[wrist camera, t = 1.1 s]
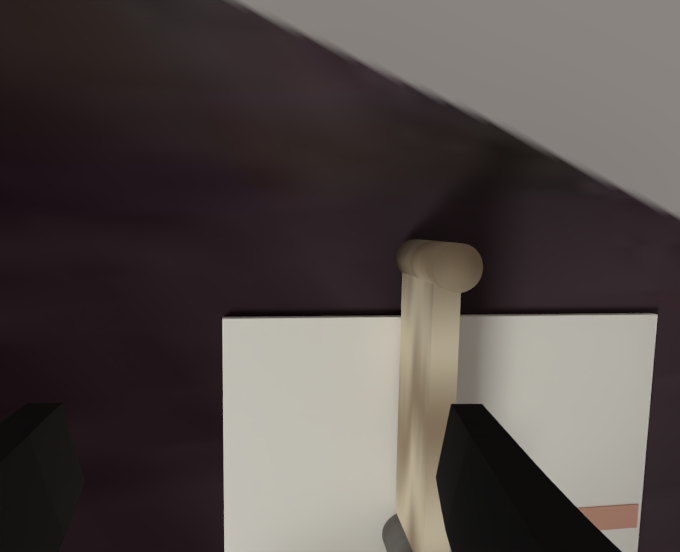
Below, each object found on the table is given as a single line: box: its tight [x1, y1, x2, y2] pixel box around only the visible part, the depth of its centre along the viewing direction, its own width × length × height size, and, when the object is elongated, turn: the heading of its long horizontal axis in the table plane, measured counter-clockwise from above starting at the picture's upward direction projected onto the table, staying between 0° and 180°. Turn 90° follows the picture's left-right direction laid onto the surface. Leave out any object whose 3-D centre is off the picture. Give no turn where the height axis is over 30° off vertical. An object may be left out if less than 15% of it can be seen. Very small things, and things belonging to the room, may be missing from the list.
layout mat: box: [222, 313, 658, 552], centre depth 22 cm, size 20×20×1 cm
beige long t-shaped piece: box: [395, 239, 483, 552], centre depth 18 cm, size 12×2×5 cm, turn 179°
